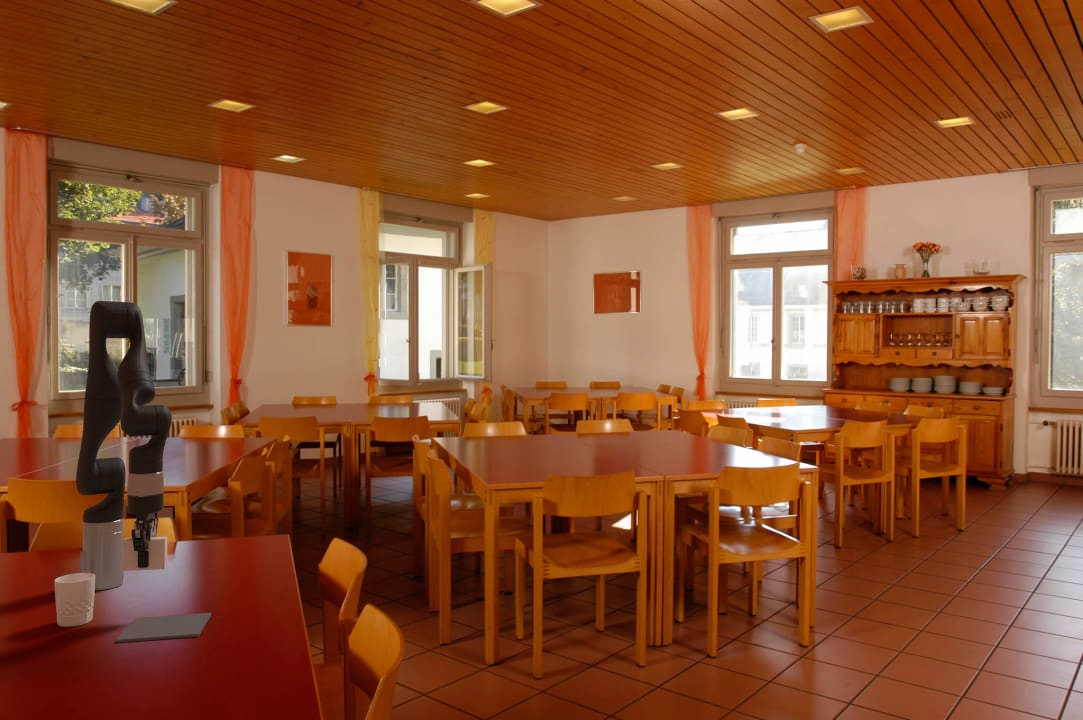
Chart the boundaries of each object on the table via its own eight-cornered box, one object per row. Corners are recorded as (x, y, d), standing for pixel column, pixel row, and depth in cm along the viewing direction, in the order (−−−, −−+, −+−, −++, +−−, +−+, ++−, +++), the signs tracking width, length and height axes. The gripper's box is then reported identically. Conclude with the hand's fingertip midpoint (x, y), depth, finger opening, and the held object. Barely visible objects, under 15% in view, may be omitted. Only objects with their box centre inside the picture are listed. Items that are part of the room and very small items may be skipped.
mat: (116, 642, 160) (116, 639, 160) (135, 620, 174) (135, 617, 174) (198, 636, 164) (198, 633, 164) (211, 615, 177) (211, 612, 177)
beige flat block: (122, 571, 176) (122, 540, 176) (125, 567, 178) (125, 537, 178) (164, 569, 178) (164, 539, 178) (167, 566, 180) (167, 536, 180)
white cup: (103, 618, 175) (103, 574, 175) (72, 629, 168) (72, 584, 168) (77, 614, 178) (77, 571, 178) (45, 625, 170) (45, 580, 170)
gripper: (136, 486, 184) (136, 558, 184) (118, 497, 170) (117, 575, 171) (170, 485, 185) (169, 556, 186) (155, 496, 172) (154, 573, 172)
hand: (145, 565), depth 178 cm, fingers closed on beige flat block, 2 cm apart
